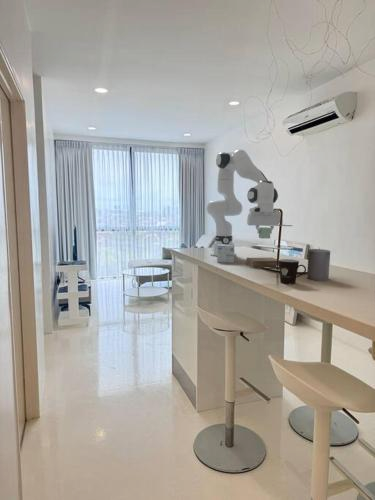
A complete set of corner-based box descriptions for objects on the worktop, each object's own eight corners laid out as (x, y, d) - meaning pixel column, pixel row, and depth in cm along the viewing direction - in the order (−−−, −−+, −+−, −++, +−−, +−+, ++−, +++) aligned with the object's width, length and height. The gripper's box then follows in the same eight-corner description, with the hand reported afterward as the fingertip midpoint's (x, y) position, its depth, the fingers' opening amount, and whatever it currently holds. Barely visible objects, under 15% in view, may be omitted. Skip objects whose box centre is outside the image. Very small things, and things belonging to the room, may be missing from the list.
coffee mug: (273, 281, 154) (274, 259, 153) (289, 280, 157) (290, 258, 156) (290, 286, 144) (291, 263, 142) (306, 285, 147) (307, 262, 145)
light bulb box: (233, 261, 215) (234, 244, 214) (234, 262, 209) (234, 245, 208) (216, 260, 217) (217, 244, 215) (216, 262, 210) (217, 245, 209)
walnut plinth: (246, 264, 203) (246, 257, 203) (272, 264, 205) (272, 257, 205) (253, 268, 189) (254, 261, 189) (281, 267, 192) (281, 260, 191)
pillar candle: (303, 276, 166) (305, 246, 164) (322, 276, 167) (324, 246, 165) (312, 281, 157) (314, 248, 155) (332, 280, 157) (334, 248, 156)
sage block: (258, 237, 198) (259, 227, 197) (266, 237, 198) (267, 227, 198) (261, 238, 193) (262, 227, 192) (270, 238, 193) (270, 227, 193)
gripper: (280, 209, 198) (279, 233, 200) (246, 209, 195) (245, 233, 197) (285, 209, 192) (284, 233, 193) (250, 209, 189) (249, 233, 191)
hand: (264, 233), depth 195 cm, fingers closed on sage block, 5 cm apart
